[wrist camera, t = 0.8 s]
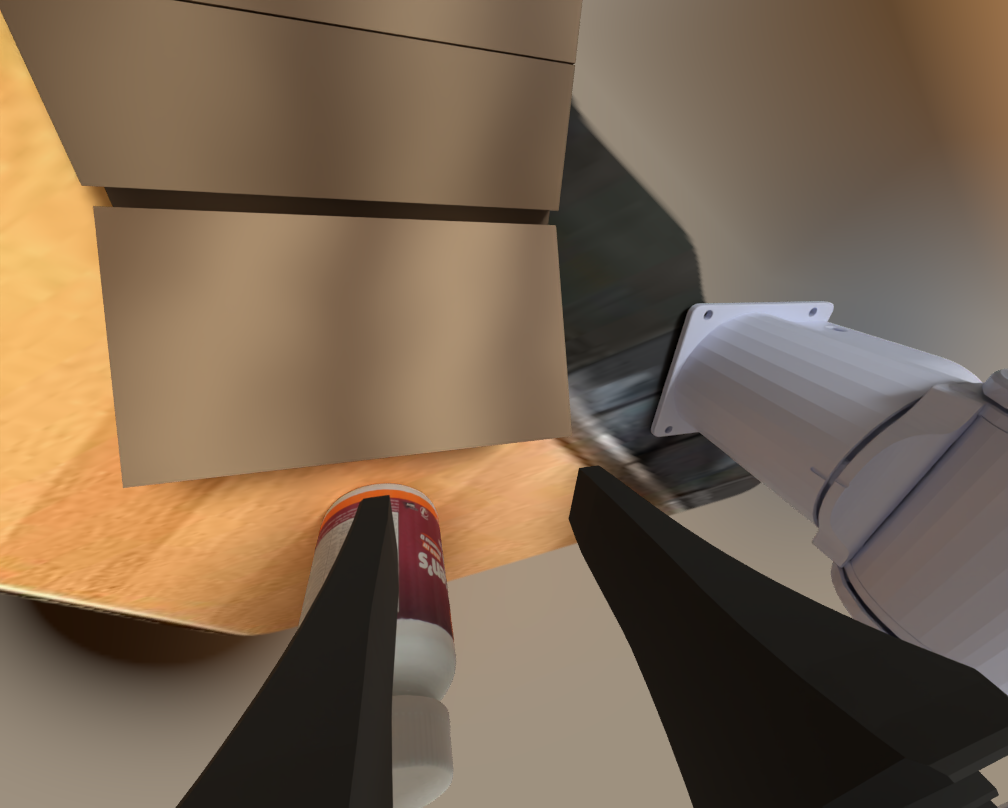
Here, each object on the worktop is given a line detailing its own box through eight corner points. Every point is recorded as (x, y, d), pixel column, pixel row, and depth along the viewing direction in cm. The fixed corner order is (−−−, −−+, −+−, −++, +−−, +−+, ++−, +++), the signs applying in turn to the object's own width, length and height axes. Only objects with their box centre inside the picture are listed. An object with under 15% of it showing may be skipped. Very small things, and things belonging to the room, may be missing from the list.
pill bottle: (449, 535, 22) (489, 787, 13) (350, 569, 22) (316, 862, 12) (418, 463, 19) (442, 734, 10) (299, 500, 18) (199, 834, 9)
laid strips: (579, -115, 10) (599, -147, 9) (545, 225, 15) (556, 228, 14) (-105, -318, 7) (-191, -405, 6) (120, 208, 11) (93, 210, 10)
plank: (544, 239, 15) (555, 225, 14) (559, 433, 15) (571, 435, 14) (126, 226, 11) (93, 206, 10) (152, 479, 11) (123, 487, 10)
